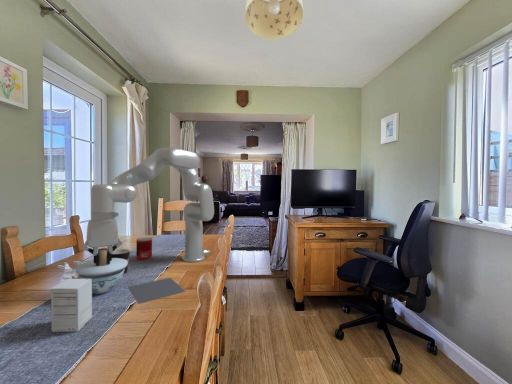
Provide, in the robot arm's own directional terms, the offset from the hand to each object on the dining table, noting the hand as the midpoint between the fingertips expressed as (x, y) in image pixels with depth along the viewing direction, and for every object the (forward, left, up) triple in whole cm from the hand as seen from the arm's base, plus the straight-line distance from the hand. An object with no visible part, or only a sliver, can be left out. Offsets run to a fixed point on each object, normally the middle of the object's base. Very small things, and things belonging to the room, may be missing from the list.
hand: (102, 263), depth 97 cm
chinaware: (0, 0, -11) cm, 11 cm away
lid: (0, 0, -1) cm, 1 cm away
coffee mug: (-10, -19, -11) cm, 24 cm away
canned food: (-24, -35, -11) cm, 44 cm away
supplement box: (+10, +21, -11) cm, 26 cm away
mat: (-17, +11, -11) cm, 23 cm away
